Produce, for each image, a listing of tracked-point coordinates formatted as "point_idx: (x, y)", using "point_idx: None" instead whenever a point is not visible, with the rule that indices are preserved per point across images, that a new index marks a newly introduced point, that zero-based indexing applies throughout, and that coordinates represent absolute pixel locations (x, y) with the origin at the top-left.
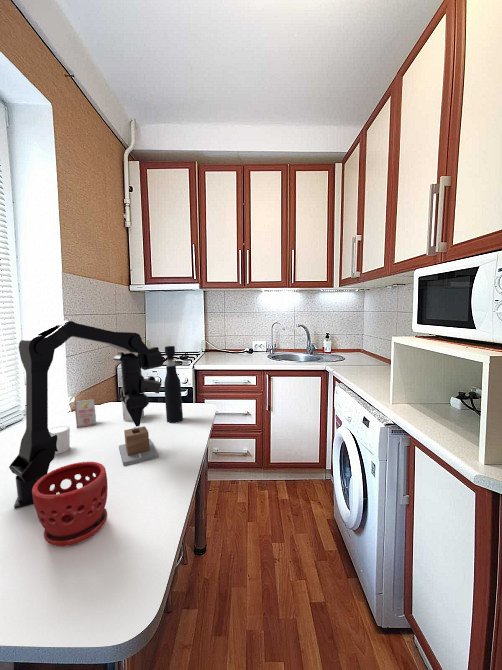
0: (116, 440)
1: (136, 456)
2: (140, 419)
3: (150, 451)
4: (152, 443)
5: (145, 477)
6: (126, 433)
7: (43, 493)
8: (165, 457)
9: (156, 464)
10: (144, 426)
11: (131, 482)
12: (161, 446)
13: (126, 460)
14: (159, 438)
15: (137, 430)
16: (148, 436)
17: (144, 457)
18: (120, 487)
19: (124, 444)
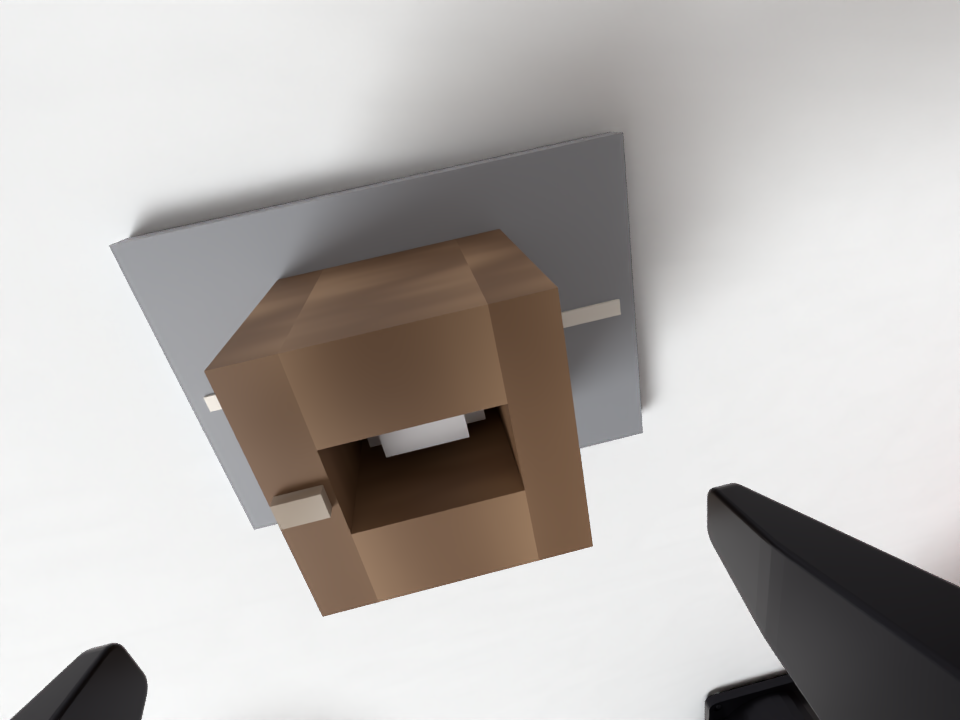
0: (42, 567)
1: (578, 345)
2: (906, 566)
3: (516, 220)
4: (283, 208)
5: (912, 235)
6: (469, 567)
7: (797, 699)
8: (644, 50)
9: (749, 150)
10: (223, 377)
11: (913, 326)
12: (317, 93)
13: (618, 413)
14: (18, 119)
15: (326, 454)
16: (539, 271)
17: (629, 271)
18: (927, 383)
19: (240, 489)
